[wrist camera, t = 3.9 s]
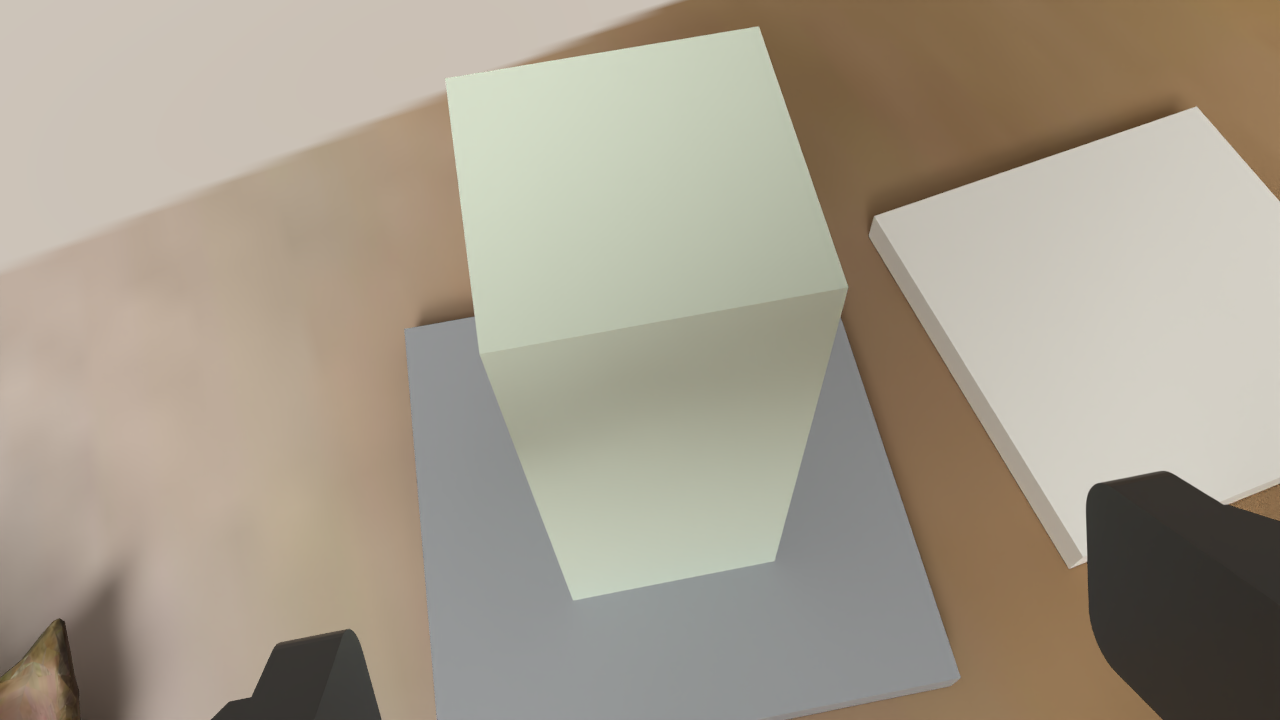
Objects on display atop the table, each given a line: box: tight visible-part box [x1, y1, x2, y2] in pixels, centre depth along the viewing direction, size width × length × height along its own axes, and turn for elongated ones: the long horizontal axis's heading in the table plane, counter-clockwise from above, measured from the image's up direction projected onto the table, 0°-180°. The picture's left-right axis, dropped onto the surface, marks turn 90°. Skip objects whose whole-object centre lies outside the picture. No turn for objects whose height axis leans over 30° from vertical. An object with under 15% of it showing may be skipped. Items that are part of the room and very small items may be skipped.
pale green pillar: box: [445, 26, 848, 601], centre depth 20 cm, size 5×5×12 cm
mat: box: [869, 107, 1280, 569], centre depth 28 cm, size 11×11×1 cm
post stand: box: [404, 317, 961, 720], centre depth 23 cm, size 12×12×6 cm
